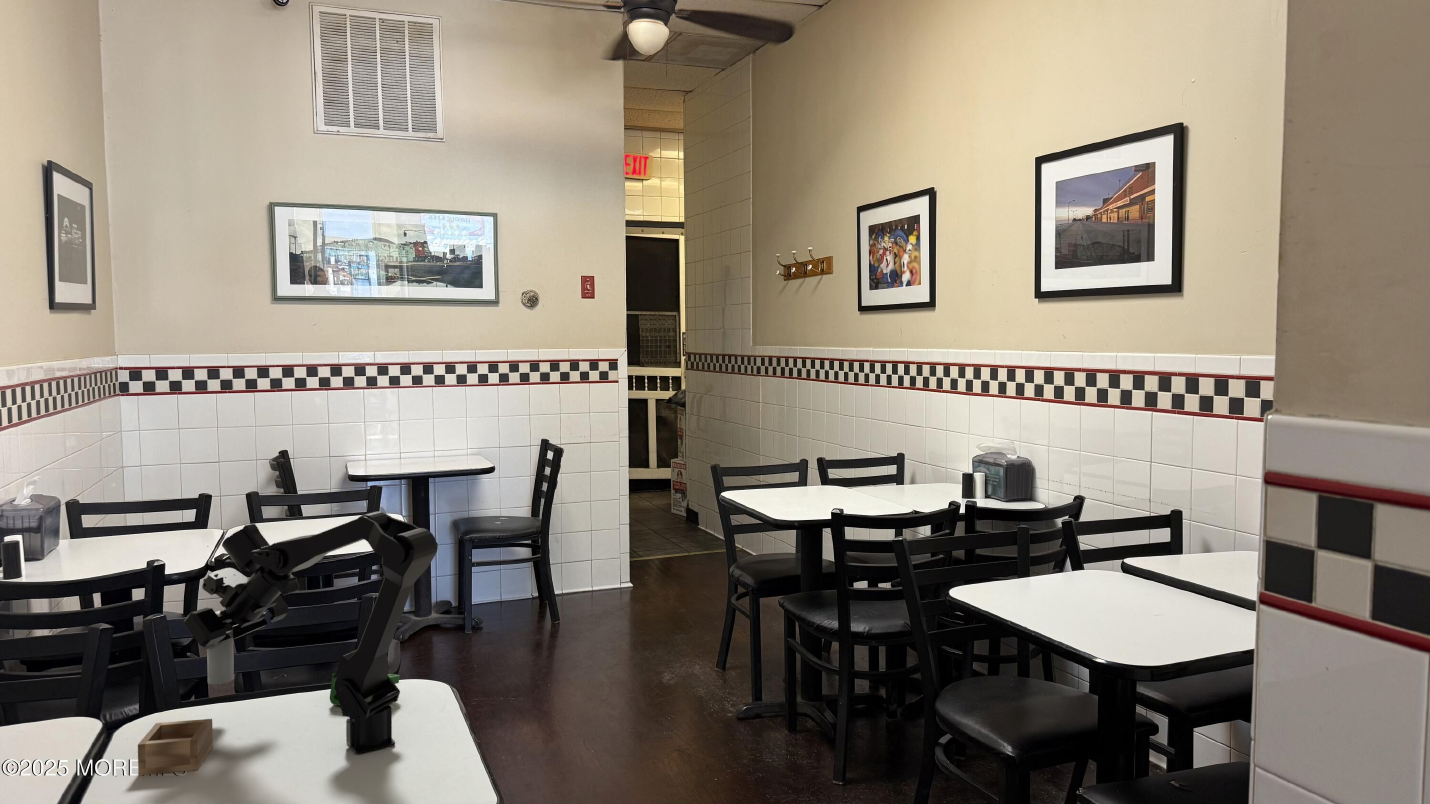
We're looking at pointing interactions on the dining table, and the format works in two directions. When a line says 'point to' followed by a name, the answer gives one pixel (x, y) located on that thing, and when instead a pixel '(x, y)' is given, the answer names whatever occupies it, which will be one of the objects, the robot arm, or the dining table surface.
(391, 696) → the robot arm
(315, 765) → the dining table surface
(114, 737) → the dining table surface
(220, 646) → the white rounded cylinder
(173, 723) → the end holder
